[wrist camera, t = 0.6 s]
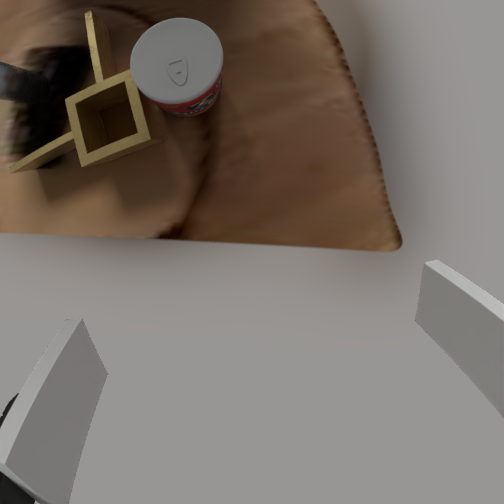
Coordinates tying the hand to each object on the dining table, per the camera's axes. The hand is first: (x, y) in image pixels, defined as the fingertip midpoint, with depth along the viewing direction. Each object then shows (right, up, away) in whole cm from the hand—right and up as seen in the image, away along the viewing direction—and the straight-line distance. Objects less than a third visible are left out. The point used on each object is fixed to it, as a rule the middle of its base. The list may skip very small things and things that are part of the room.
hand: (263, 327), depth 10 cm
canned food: (-8, +21, +19) cm, 30 cm away
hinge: (-21, +21, +18) cm, 34 cm away
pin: (-28, +23, +16) cm, 40 cm away
